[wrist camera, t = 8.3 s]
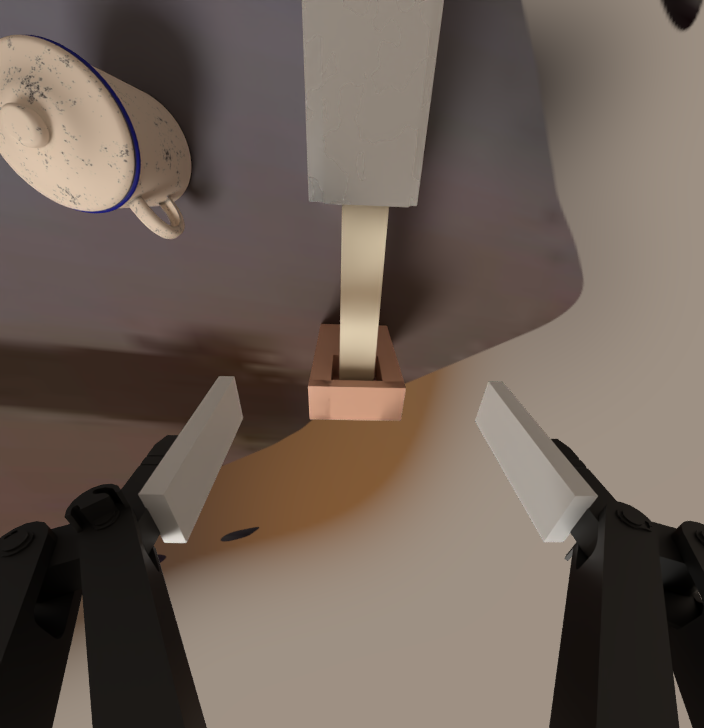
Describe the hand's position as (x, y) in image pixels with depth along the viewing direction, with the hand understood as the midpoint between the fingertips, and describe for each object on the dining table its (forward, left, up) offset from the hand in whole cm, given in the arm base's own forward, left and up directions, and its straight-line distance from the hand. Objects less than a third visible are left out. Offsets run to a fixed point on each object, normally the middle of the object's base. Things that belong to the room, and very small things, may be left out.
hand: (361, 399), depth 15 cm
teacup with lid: (-11, -19, -21) cm, 30 cm away
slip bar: (-3, 0, -12) cm, 12 cm away
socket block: (+6, 0, -20) cm, 21 cm away
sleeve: (-14, 0, -20) cm, 25 cm away
